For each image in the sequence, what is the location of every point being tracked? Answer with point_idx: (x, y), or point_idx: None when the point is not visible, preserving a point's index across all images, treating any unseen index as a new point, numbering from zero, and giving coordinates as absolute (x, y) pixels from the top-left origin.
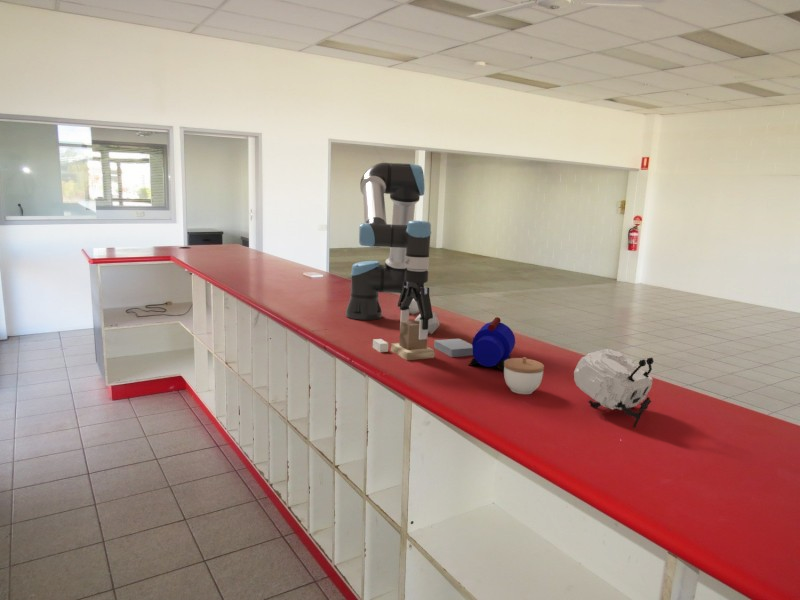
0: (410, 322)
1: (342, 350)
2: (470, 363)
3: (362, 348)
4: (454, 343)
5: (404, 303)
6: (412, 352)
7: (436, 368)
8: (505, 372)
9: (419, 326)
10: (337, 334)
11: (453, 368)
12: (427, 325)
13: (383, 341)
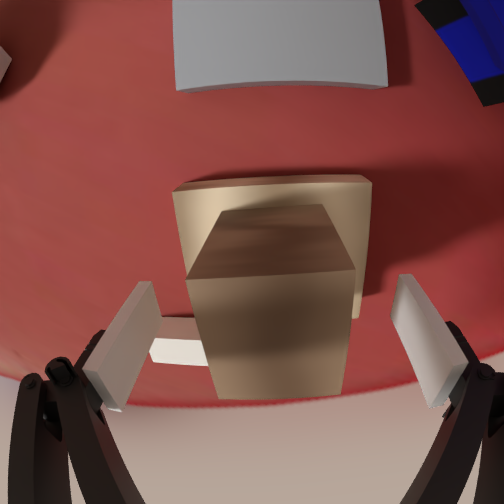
0: (255, 365)
1: (192, 406)
2: (493, 103)
3: (173, 367)
4: (268, 5)
5: (125, 466)
6: (361, 297)
7: (467, 240)
8: None
9: (415, 368)
10: (45, 355)
11: (489, 182)
12: (464, 343)
13: (183, 345)
